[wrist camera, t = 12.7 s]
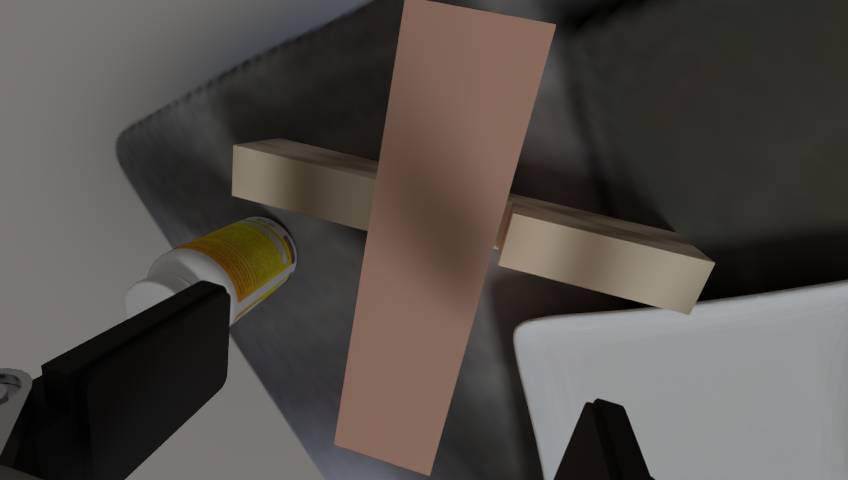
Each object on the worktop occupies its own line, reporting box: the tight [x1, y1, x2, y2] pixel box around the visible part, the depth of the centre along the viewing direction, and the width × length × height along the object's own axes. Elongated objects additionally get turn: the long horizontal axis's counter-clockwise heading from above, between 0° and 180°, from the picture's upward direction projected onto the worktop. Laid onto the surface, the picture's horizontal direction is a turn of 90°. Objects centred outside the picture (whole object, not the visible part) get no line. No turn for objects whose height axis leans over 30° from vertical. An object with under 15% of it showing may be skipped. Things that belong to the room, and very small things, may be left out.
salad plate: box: [513, 280, 848, 480], centre depth 27 cm, size 21×21×3 cm
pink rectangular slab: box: [334, 0, 556, 476], centre depth 20 cm, size 16×4×14 cm, turn 168°
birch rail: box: [232, 138, 715, 315], centre depth 24 cm, size 26×3×5 cm, turn 78°
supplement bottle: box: [125, 217, 297, 326], centre depth 26 cm, size 6×6×10 cm
